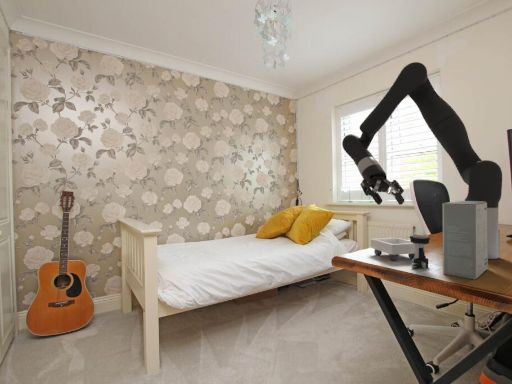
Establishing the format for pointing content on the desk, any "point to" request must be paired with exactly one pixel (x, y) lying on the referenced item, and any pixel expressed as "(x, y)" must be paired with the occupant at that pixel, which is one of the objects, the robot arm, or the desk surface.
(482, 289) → the desk surface
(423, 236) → the push button
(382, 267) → the desk surface
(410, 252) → the parts trolley
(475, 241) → the hard drive box
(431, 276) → the desk surface
